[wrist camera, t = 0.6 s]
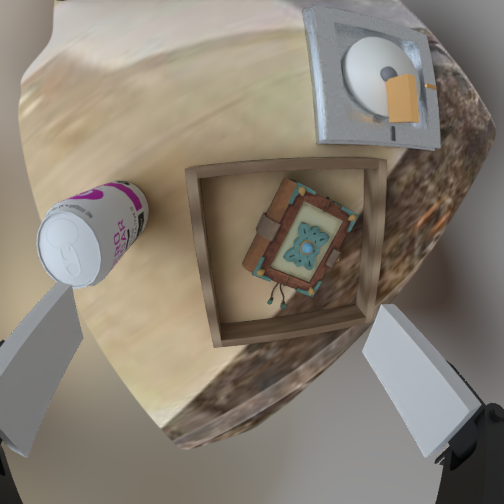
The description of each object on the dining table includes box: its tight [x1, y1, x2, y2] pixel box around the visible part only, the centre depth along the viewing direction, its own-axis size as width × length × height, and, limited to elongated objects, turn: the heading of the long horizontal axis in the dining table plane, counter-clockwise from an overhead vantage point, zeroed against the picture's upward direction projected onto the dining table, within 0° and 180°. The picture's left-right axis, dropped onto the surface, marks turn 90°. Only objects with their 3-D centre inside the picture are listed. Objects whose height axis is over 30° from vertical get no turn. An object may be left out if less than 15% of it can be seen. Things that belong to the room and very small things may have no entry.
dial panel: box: [302, 5, 440, 151], centre depth 28 cm, size 20×20×3 cm
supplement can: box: [37, 180, 149, 289], centre depth 26 cm, size 8×8×15 cm
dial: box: [343, 37, 421, 123], centre depth 25 cm, size 13×12×7 cm
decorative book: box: [242, 178, 359, 309], centre depth 36 cm, size 13×18×5 cm
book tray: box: [185, 157, 387, 348], centre depth 35 cm, size 24×24×4 cm
